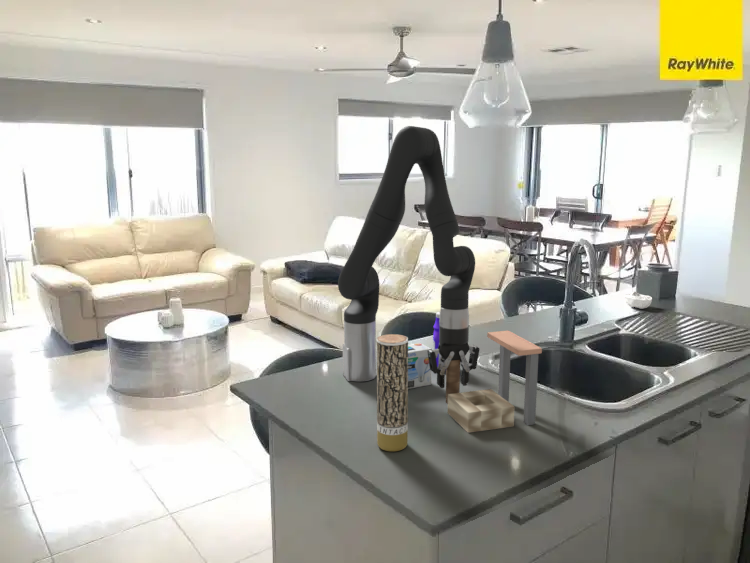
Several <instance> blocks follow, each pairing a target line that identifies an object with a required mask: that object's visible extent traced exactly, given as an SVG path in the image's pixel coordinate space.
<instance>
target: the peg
mask: <svg viewBox="0 0 750 563" xmlns="http://www.w3.org/2000/svg"><path fill="white" fill-rule="evenodd" d="M460 386H461V364H460V360H452V361H450V364H449V366H448V368H446V370H445V404H447V405H448V394H454V393H461V392H460V391H461V390H460V388H461V387H460Z"/></svg>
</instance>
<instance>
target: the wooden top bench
mask: <svg viewBox="0 0 750 563" xmlns="http://www.w3.org/2000/svg"><path fill="white" fill-rule="evenodd" d="M486 337H487V338H488V339H490V340H492V341H493V342H495V343H496V344H498V345H499V368H498V393H497V394H498V395H500V396H501V397H502V398H504V399H505V400H506V401H508V402H509V401H510V382H511V381H510V378H511V376H510V375H511V353H513V354H515V355H517V356H518V357H520V356H525V357H526V358H525V359H526V360H525V376H524V377H525V379H524V401H523V420H522V421H523V423H524V424H525V425H527V426H531V425H535V424H536V413H537V409H536V408H537V394H538V391H537V390H538V374H539V373H538V372H539V371H538V370H539V354H542V352H543V349H542V347H541V346H538V345H536V344H534V343H533V342H530V341H529V340H527V339H525V338H524V337H521V336H519V335H517V334H516V333H514V332H512V331H510V330H501V331H490V332H489V331H488V332H487V336H486ZM509 403H510V402H509Z"/></svg>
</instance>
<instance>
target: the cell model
mask: <svg viewBox="0 0 750 563" xmlns="http://www.w3.org/2000/svg"><path fill="white" fill-rule="evenodd" d="M624 299H625V303H626V304H627V306H628V307H631V308H634V307H635V309H641V310H642V309H647V308H648V307H649V306H650V305H651V304H652V300H653V297H652V296H651V295H645V294H641V293H639V292H638V291H633V292H631V293H628V294H625V295H624Z"/></svg>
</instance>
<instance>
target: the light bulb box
mask: <svg viewBox="0 0 750 563" xmlns="http://www.w3.org/2000/svg"><path fill="white" fill-rule="evenodd" d="M429 349H431V350H433V348H431V347H429V346H427V345H425V344H423V343H421V342H417V343H410V344H408V390H409V389H414V388H420V387H425V386H430V385H432V371H431V370H430V366H429V359H428V352H427V351H428V350H429Z"/></svg>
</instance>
